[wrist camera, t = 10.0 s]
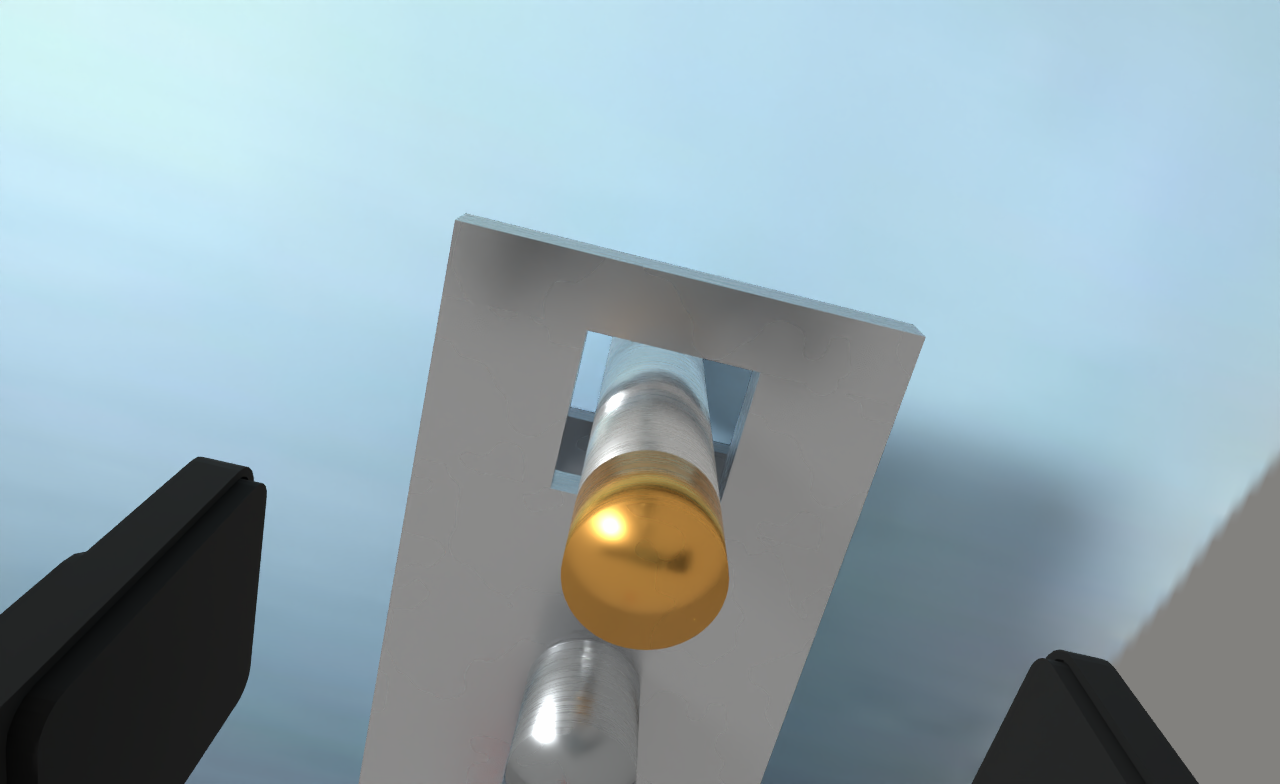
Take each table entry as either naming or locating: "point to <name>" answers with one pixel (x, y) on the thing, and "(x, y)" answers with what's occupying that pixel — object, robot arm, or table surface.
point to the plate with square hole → (543, 507)
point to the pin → (647, 506)
